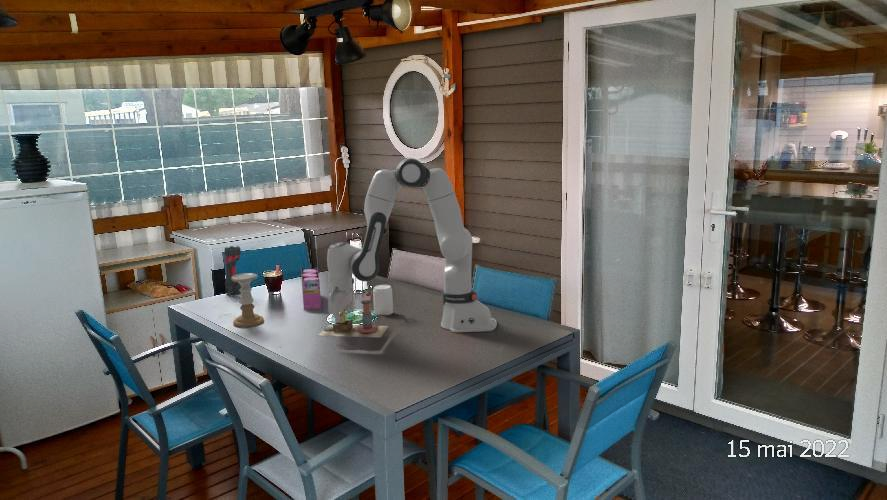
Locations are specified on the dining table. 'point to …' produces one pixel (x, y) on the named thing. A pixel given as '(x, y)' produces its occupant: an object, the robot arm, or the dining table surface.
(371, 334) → the board
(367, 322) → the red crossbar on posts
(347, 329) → the brown box
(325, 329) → the slate pad
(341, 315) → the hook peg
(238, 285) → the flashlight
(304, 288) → the gum box
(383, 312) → the white tapered cylinder
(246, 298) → the candle holder
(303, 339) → the dining table surface
